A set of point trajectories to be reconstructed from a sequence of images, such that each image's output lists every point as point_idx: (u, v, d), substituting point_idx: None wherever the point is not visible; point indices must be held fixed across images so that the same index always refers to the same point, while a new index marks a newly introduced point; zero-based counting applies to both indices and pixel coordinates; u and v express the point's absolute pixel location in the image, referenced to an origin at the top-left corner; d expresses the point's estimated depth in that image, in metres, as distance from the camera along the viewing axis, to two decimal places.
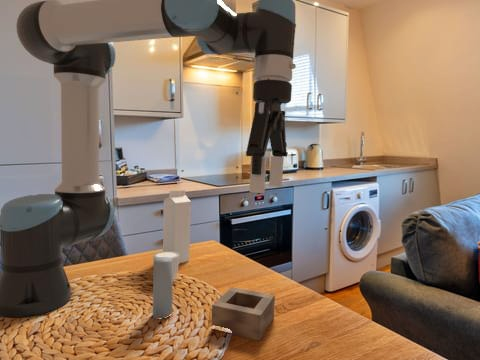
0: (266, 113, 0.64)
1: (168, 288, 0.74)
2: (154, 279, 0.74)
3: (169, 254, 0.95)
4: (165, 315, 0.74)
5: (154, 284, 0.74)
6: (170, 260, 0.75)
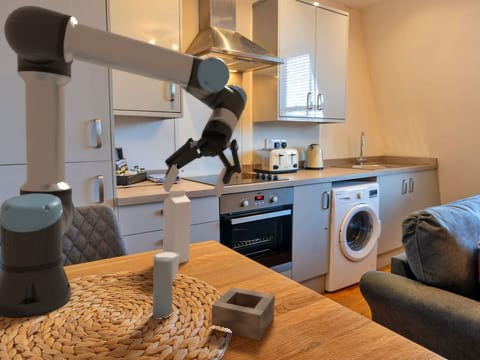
0: None
1: (168, 288, 0.74)
2: (154, 279, 0.74)
3: (169, 254, 0.95)
4: (165, 315, 0.74)
5: (154, 284, 0.74)
6: (170, 260, 0.75)
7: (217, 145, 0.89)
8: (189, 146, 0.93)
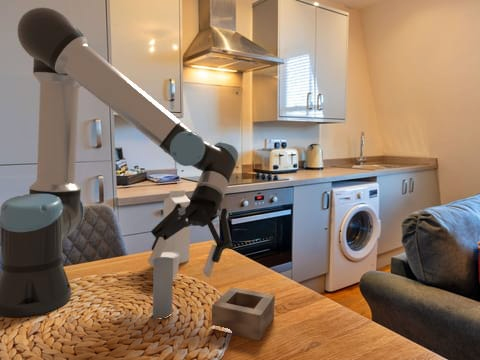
0: (227, 221, 0.85)
1: (168, 288, 0.74)
2: (154, 279, 0.74)
3: (169, 254, 0.95)
4: (165, 315, 0.74)
5: (154, 284, 0.74)
6: (170, 260, 0.75)
7: (206, 215, 0.84)
8: (177, 213, 0.88)
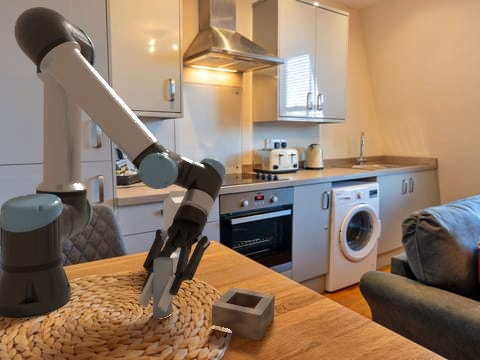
0: (204, 249, 0.80)
1: None
2: (154, 279, 0.74)
3: None
4: (165, 315, 0.74)
5: (154, 284, 0.74)
6: (170, 260, 0.75)
7: (185, 239, 0.79)
8: (161, 239, 0.82)
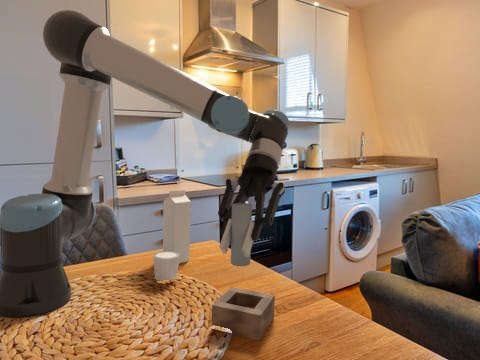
0: (280, 197, 0.76)
1: None
2: (233, 224, 0.71)
3: (169, 254, 0.95)
4: (245, 262, 0.71)
5: (233, 229, 0.71)
6: (249, 205, 0.72)
7: (259, 186, 0.76)
8: (232, 188, 0.79)
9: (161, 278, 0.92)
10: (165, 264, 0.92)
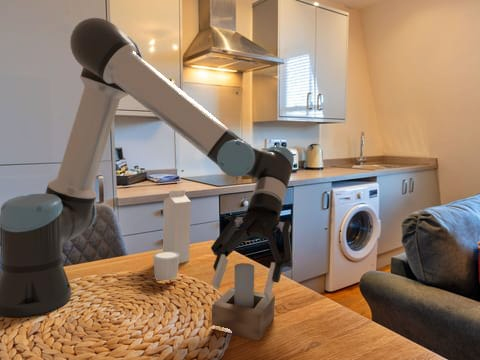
0: (289, 234, 0.77)
1: (251, 295, 0.72)
2: (236, 286, 0.72)
3: (169, 254, 0.95)
4: None
5: (236, 291, 0.72)
6: (251, 266, 0.73)
7: (267, 227, 0.77)
8: (234, 225, 0.80)
9: (161, 278, 0.92)
10: (165, 264, 0.92)
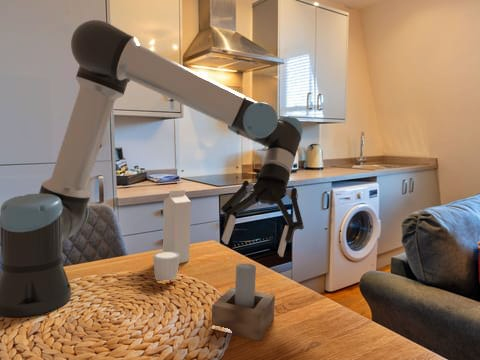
0: None
1: (252, 296, 0.72)
2: (237, 287, 0.72)
3: (169, 254, 0.95)
4: None
5: (237, 292, 0.72)
6: (253, 267, 0.73)
7: (277, 195, 0.85)
8: (245, 190, 0.89)
9: (161, 278, 0.92)
10: (165, 264, 0.92)
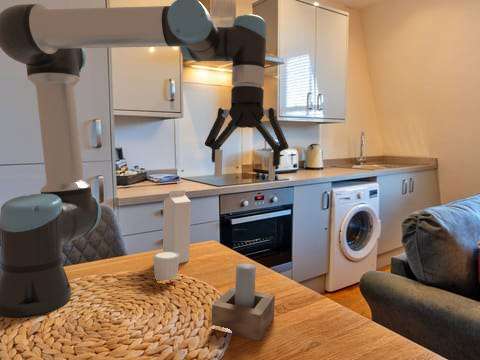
0: (276, 117, 0.82)
1: (252, 296, 0.72)
2: (237, 287, 0.72)
3: (169, 254, 0.95)
4: None
5: (237, 292, 0.72)
6: (253, 267, 0.73)
7: (254, 120, 0.81)
8: (222, 118, 0.86)
9: (161, 278, 0.92)
10: (165, 264, 0.92)
